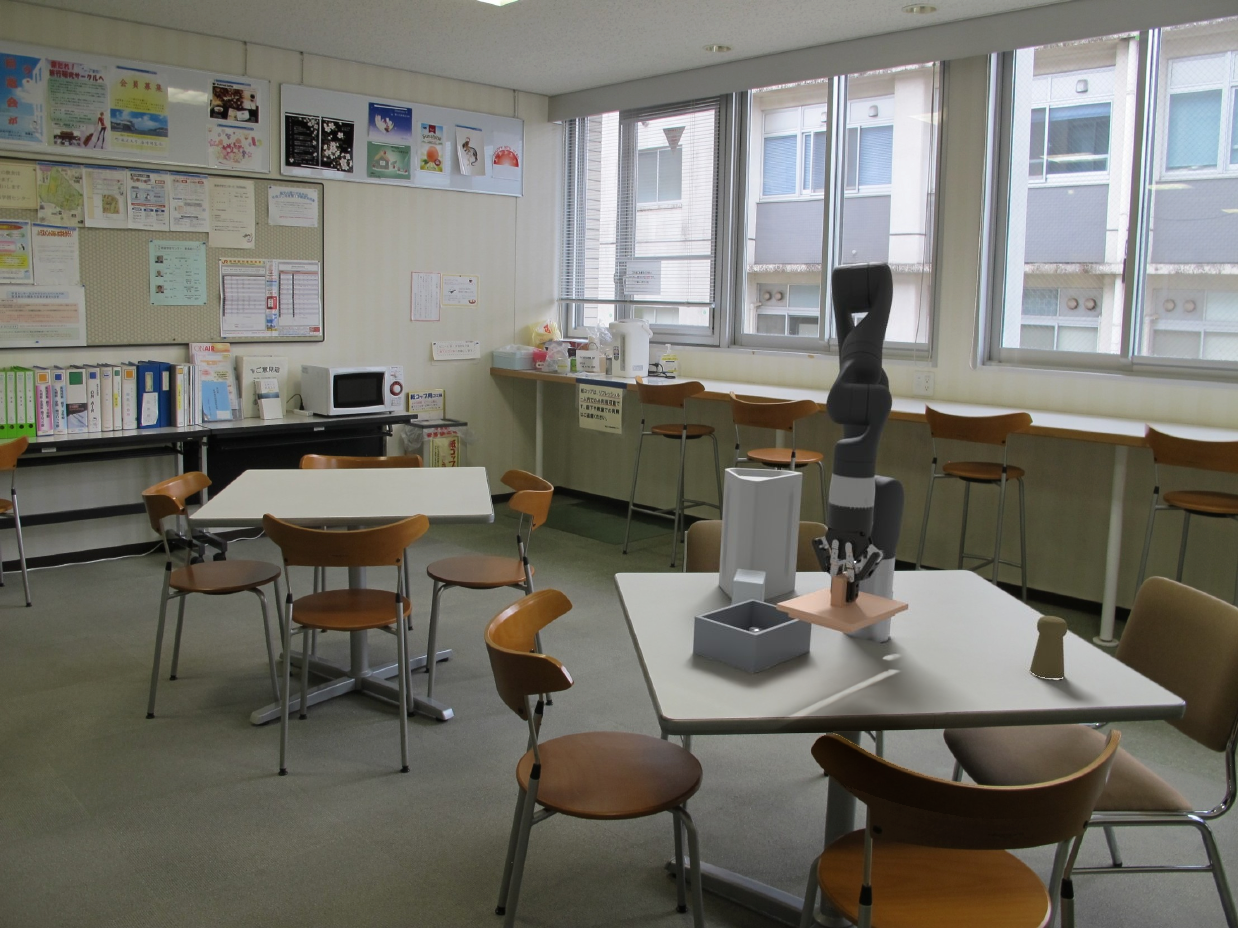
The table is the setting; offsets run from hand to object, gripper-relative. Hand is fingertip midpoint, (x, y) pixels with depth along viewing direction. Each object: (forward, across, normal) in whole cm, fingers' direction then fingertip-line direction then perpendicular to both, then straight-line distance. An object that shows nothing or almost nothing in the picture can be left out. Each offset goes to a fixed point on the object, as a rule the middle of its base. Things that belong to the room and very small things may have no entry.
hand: (843, 599), depth 172 cm
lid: (+3, 0, 0) cm, 3 cm away
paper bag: (+16, +48, -39) cm, 64 cm away
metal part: (+15, +22, -6) cm, 27 cm away
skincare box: (+16, +33, -18) cm, 41 cm away
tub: (+16, +20, -2) cm, 26 cm away
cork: (+16, -22, -37) cm, 46 cm away
